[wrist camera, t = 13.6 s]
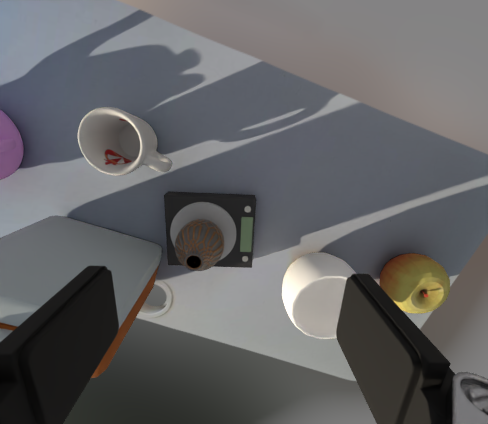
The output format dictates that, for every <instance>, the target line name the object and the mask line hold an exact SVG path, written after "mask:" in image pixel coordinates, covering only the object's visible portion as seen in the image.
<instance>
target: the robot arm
mask: <svg viewBox="0 0 488 424" xmlns="http://www.w3.org/2000/svg"><path fill="white" fill-rule="evenodd" d="M118 330H119V321H118V314H117V307H116V300H115V293H114V286H113V278H112V272H111V270H108V269H107V267H106V266H87V267H86V268H85V269H84V270H83V271H81V272H80V273H79V274H78V275H77V276H76V277H75V278H73V279H72V280H71V281H70V282H69V283H68V284H67V285H65V286H64V287H63V288H62V289H61V290H60V291H58V292H57V293H56V294H55V295H54V296H53V297H52V298H50V299H49V300H48V301H47V302H46V303H45V304H44V305H42V306H41V307H40V308H39V309H38V310H37V311H35V312H34V313H33V314H32V315H31V316H30V317H29V318H27V319H26V320H25V321H24V322H23V323H22V324H21V325H19V326H18V327H17V328H16V329H15V330H14V331H12V332H11V333H10V334H9V335H8V336H7V337H6V338H4V339H3V340H2V341H1V342H0V424H63V423H64V421H65V419H66V417H67V416H68V414H69V413H70V411H71V410H72V408H73V406H74V404H75V403H76V401H77V399H78V398H79V396H80V395H81V393H82V391H83V390H84V388H85V387H86V385H87V383H88V382H89V380H90V378H91V377H92V375H93V374H94V372H95V370H96V369H97V367H98V365H99V364H100V362H101V360H102V359H103V357H104V356H105V354H106V352H107V351H108V349H109V347H110V346H111V344H112V342H113V341H114V339H115V338H116V336H117V334H118ZM336 336H337V340H338V342H339V345H340V347H341V349H342V351H343V353H344V355H345V357H346V359H347V361H348V364H349V366H350V368H351V370H352V372H353V374H354V376H355V378H356V380H357V383H358V385H359V387H360V389H361V391H362V393H363V395H364V397H365V399H366V402H367V404H368V406H369V408H370V410H371V412H372V414H373V416H374V418H375V420H376V423H377V424H488V379H487V378H484V377H482V376H479V375H477V374H473V373H468V372H460V373H457V374H455V373H454V372H453V371H452V370H451V369H450V368H449V366H450V362H449V361H448V360H447V359H446V358H445V357H444V356H443V355H442V354H441V353H440V351H439V350H438V349H437V348H436V347H435V346H434V345H433V344H432V343H431V342H430V340H429V339H428V338H427V337H426V336H425V335H424V334H423V333H422V332H421V331H420V330H419V328H418V327H417V326H416V325H415V324H414V323H413V322H412V321H411V320H410V319H409V318H408V316H407V315H406V314H405V313H404V312H403V311H402V310H401V309H400V308H399V307H398V306H397V304H396V303H395V302H394V301H393V300H392V299H391V298H390V297H389V296H388V295H387V294H386V293H385V291H384V290H383V289H382V288H381V287H380V286H379V285H378V284H377V283H376V282H375V281H374V279H373V278H372V277H371V276H370V275H369V274H352V275H351V277H348V278H347V280H346V285H345V290H344V295H343V300H342V304H341V309H340V314H339V319H338V324H337V329H336Z"/></svg>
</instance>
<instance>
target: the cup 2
mask: <svg viewBox="0 0 488 424" xmlns="http://www.w3.org/2000/svg"><path fill="white" fill-rule="evenodd" d="M352 274H357V273H356V272H355V271H354V270H353V269H352V268H351V267H350V266H349V265H348V264H347V263H346V262H345V261H344V260H342V259H340V258H338V257H335V256H333V255H330V254H327V253H325V252H324V253H309V254H307V255H304V256H301V257H299V258H298V259H297V260H296V261H294V262H293V263H292V264H291V265H290V266H289V268H288V270H287V272H286V273H285V275H284V279H283V287H282V298H283V301H284V305H285V308H286V310H287V313H288V315H289V317H290V319H291V320H292V322H293V323H294V325H295V326H296V327H297V328H298V329H300V330H301V331H302V332H303V333H304V334H306V335H309V336H312V337H315V338H318V339H333V338H336V337H337V336H336V329H337V324H338V319H339V314H340V309H341V304H342V300H343V295H344V290H345V285H346V280H347V278H348V277H351V275H352Z"/></svg>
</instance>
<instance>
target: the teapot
mask: <svg viewBox="0 0 488 424" xmlns="http://www.w3.org/2000/svg"><path fill="white" fill-rule="evenodd" d="M23 152H24V148H23V141H22V138H21V135H20V133H19V131H18V129H17V127H16V126H15V124H14V123H13V122H12V120H11V119H10V118H9V117H8V116H7V115H6V114H5V113H4V112H3V111H1V110H0V179H3V178H6V177H8V176H10V175H11V174H13V173H14V172H15V171H16V170H17V169H18V167H19V166H20V164H21V161H22V158H23Z"/></svg>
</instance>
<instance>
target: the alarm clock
mask: <svg viewBox="0 0 488 424" xmlns="http://www.w3.org/2000/svg"><path fill="white" fill-rule="evenodd" d="M161 256H162V248H161V246H160V245H158V244H156V243H152V242H149V241H146V240H142V239H139V238H135V237H132V236H129V235H125V234H122V233H118V232H115V231H112V230H108V229H105V228H101V227H98V226H95V225H91V224H88V223H84V222H81V221H78V220H74V219H71V218H67V217H64V216H50V217H48V218H45V219H43V220H41V221H38V222H36V223H34V224H32V225H29V226H27V227H25V228H22V229H20V230H18V231H15V232H13V233H11V234H8V235H6V236H4V237H2V238H0V342H1V341H2V340H3V339H4V338H6V337H7V336H8V335H9V334H10V333H11V332H12V331H14V330H15V329H16V328H17V327H18V326H19V325H21V324H22V323H23V322H24V321H25V320H26V319H27V318H29V317H30V316H31V315H32V314H33V313H34V312H35V311H37V310H38V309H39V308H40V307H41V306H42V305H44V304H45V303H46V302H47V301H48V300H49V299H50V298H52V297H53V296H54V295H55V294H56V293H57V292H58V291H60V290H61V289H62V288H63V287H64V286H65V285H67V284H68V283H69V282H70V281H71V280H72V279H73V278H75V277H76V276H77V275H78V274H79V273H80V272H81V271H83V270H84V269H85V268H86V267H87V266H106V267H107V269H108V270H111V272H112V278H113V286H114V293H115V300H116V307H117V314H118V321H119V330H118V334H117V336H116V338H115V339H114V341H113V342H112V344H111V346H110V347H109V349H108V351H107V352H106V354H105V356H104V357H103V359H102V360H101V362H100V364H99V365H98V367H97V369H96V370H95V372H94V374H93V375H92V377H91V378H94V377H97V376H99V375H100V374H101V373H102V372H104V371H105V370H106V369H107V367H108V366H109V364H110V362H111V360H112V358H113V356H114V355H115V353H116V351H117V349H118V348H119V346H120V344H121V342H122V341H123V339H124V337H125V335H126V333H127V332H128V330H129V328H130V327H131V325H132V323H133V321H134V320H135V318H136V316H137V314H138V313H139V311H140V309H141V307H142V305H143V304H144V302H145V300H146V298H147V296H148V295H149V293H150V291H151V290H152V288H153V285H154V282H155V278H156V274H157V270H158V267H159V263H160V259H161Z"/></svg>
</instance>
